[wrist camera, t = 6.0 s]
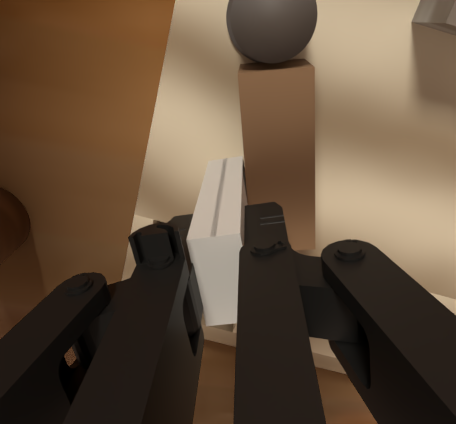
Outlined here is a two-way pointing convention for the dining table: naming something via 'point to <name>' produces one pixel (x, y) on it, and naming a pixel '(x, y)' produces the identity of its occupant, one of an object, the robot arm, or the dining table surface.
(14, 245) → the loose leg
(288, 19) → the folding leg
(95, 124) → the dining table surface
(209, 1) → the board
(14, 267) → the dining table surface
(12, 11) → the dining table surface
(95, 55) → the dining table surface
